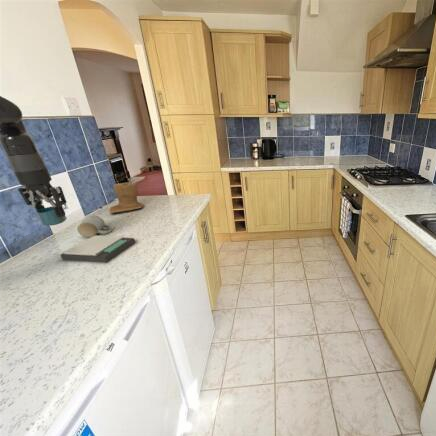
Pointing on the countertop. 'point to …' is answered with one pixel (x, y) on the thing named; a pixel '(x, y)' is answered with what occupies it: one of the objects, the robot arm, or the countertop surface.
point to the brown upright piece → (126, 198)
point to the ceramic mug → (92, 226)
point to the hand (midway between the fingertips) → (53, 216)
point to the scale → (98, 249)
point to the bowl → (49, 216)
